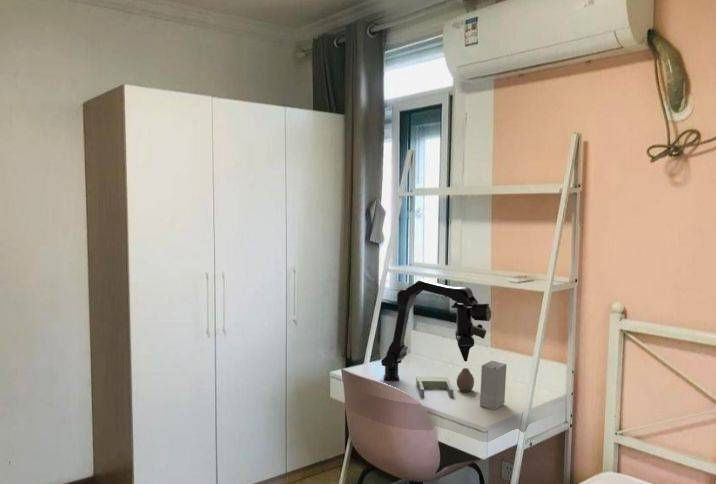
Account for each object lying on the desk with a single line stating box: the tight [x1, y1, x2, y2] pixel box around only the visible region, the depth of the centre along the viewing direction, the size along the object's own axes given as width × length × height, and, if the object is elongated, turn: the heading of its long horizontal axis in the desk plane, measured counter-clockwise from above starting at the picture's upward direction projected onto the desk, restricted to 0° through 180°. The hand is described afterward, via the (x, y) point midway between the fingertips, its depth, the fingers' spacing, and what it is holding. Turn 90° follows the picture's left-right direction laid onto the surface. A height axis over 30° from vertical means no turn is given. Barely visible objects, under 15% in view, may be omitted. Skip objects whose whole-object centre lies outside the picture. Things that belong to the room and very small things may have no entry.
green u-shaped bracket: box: [415, 376, 454, 398], centre depth 229 cm, size 17×13×3 cm
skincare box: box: [479, 360, 507, 411], centre depth 211 cm, size 8×7×16 cm
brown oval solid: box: [456, 367, 475, 393], centre depth 229 cm, size 7×7×9 cm
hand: (464, 358), depth 227 cm, fingers open, 9 cm apart
